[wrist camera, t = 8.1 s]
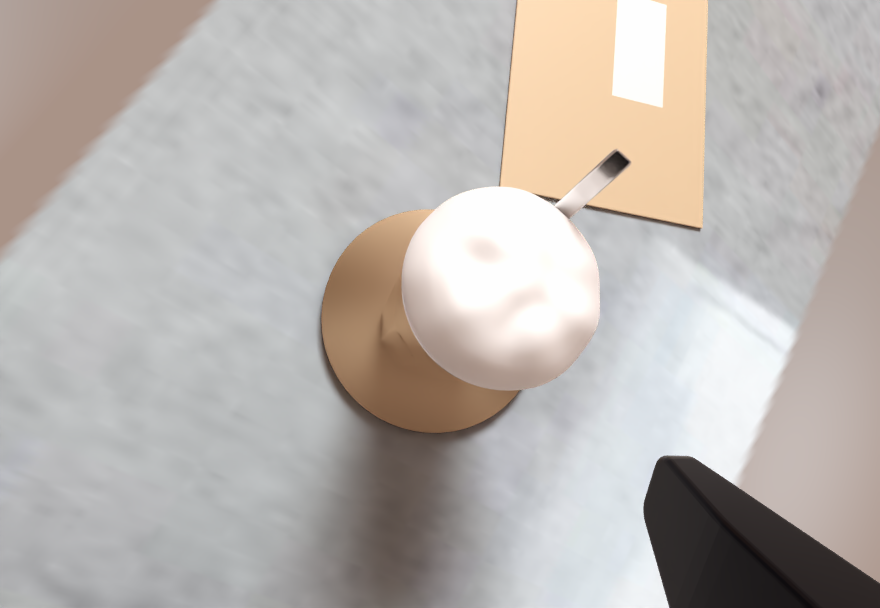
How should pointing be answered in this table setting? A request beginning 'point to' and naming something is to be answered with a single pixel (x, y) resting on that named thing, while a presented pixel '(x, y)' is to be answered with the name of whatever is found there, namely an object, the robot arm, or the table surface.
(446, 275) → the milkshake
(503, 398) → the coaster
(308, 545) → the table surface
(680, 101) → the envelope
